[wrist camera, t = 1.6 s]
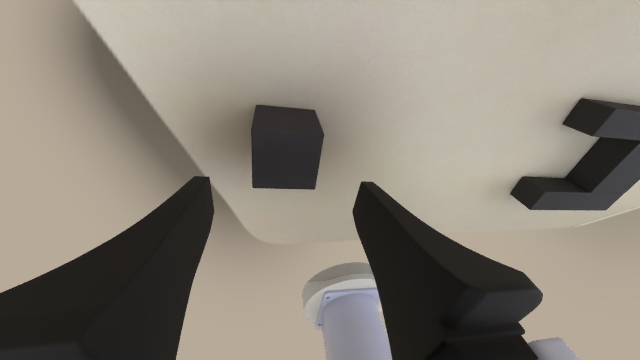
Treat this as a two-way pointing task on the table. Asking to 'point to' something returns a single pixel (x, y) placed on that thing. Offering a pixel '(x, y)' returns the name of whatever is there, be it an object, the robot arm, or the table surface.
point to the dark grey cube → (285, 148)
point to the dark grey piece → (592, 162)
